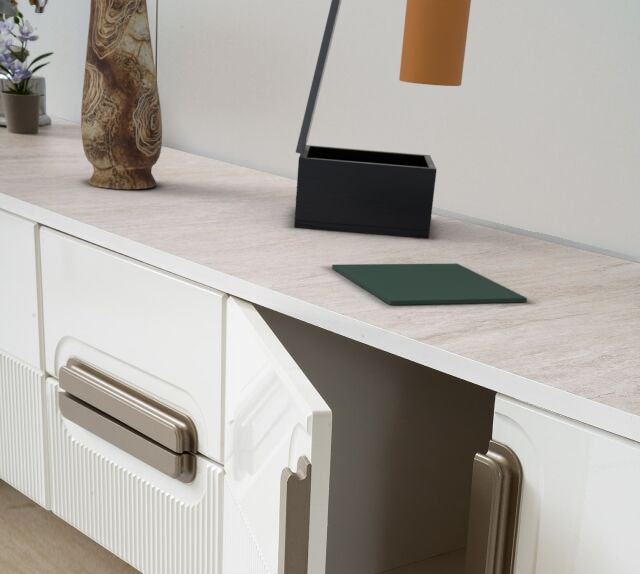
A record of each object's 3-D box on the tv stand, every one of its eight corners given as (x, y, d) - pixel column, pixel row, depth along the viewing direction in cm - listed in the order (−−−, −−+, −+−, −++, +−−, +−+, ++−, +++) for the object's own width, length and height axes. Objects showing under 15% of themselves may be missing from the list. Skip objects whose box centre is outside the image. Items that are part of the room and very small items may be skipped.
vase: (170, 191, 146) (175, -65, 134) (88, 190, 142) (86, -73, 130) (149, 178, 154) (153, -63, 143) (71, 177, 150) (68, -72, 139)
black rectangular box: (423, 219, 141) (430, 155, 138) (428, 238, 130) (436, 169, 127) (299, 208, 141) (303, 144, 138) (294, 227, 130) (298, 157, 127)
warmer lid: (341, 0, 132) (334, -2, 132) (340, 0, 120) (332, -3, 120) (307, 141, 138) (300, 139, 138) (302, 154, 126) (295, 152, 126)
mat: (456, 267, 116) (457, 263, 116) (526, 302, 105) (527, 297, 104) (331, 268, 111) (332, 264, 111) (390, 305, 100) (390, 300, 99)
